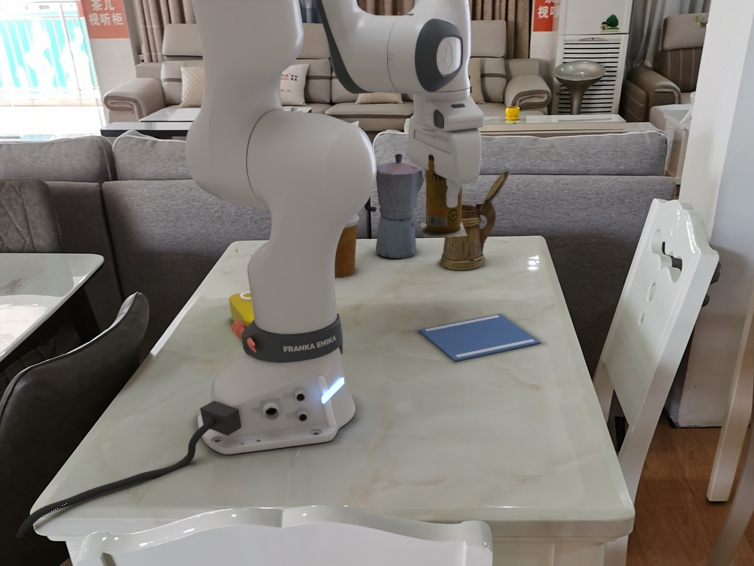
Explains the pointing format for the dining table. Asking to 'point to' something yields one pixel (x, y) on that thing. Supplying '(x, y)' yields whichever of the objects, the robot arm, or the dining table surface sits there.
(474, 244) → the wooden mug
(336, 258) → the disposable coffee cup
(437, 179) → the condiment
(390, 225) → the moka pot
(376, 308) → the dining table surface
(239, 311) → the element tile
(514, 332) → the napkin
